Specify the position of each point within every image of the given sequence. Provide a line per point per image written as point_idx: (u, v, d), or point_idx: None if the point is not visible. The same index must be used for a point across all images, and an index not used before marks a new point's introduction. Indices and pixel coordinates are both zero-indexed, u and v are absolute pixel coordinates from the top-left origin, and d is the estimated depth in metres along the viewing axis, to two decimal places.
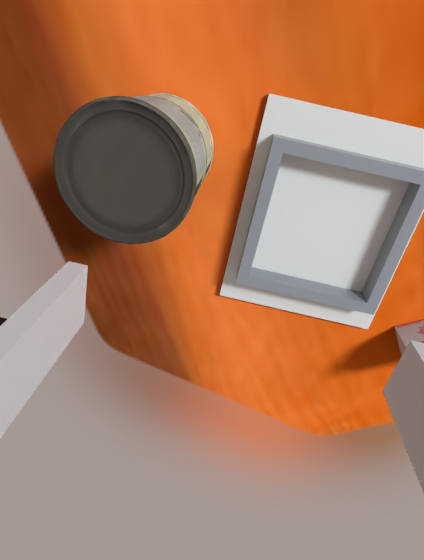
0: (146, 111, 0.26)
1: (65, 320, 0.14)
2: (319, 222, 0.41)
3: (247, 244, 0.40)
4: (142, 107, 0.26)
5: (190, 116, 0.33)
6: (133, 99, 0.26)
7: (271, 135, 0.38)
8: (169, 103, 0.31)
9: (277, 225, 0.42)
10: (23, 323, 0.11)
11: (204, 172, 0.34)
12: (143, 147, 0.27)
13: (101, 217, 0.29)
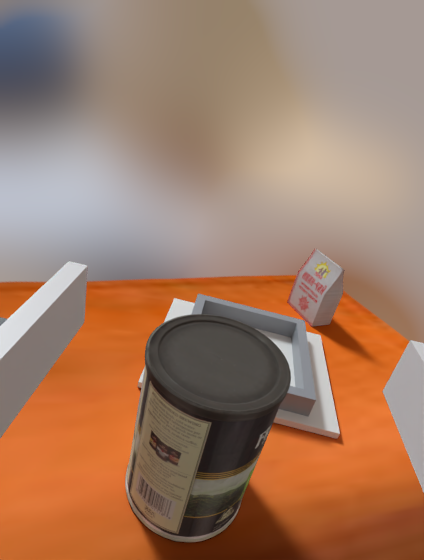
0: (160, 331, 0.28)
1: (65, 320, 0.14)
2: None
3: None
4: (156, 333, 0.28)
5: None
6: (149, 337, 0.28)
7: None
8: None
9: None
10: (23, 323, 0.11)
11: None
12: (191, 340, 0.28)
13: (267, 383, 0.26)
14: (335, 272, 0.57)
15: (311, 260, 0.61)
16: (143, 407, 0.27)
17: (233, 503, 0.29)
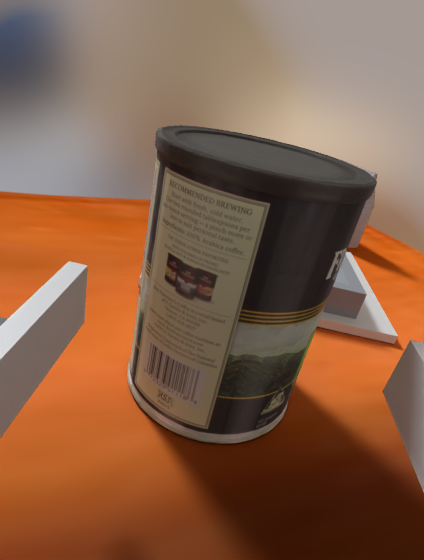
0: (175, 128, 0.19)
1: (65, 320, 0.14)
2: None
3: None
4: (170, 127, 0.19)
5: None
6: (161, 128, 0.19)
7: None
8: None
9: None
10: (23, 323, 0.11)
11: None
12: (221, 140, 0.19)
13: (343, 176, 0.17)
14: None
15: None
16: (154, 225, 0.18)
17: (286, 384, 0.20)
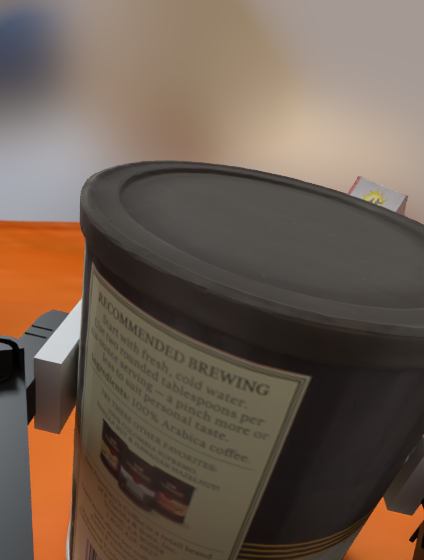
0: (129, 169, 0.11)
1: None
2: None
3: None
4: (120, 169, 0.11)
5: None
6: (99, 173, 0.10)
7: None
8: None
9: None
10: None
11: None
12: (209, 190, 0.11)
13: None
14: (394, 201, 0.41)
15: (355, 192, 0.45)
16: (82, 356, 0.10)
17: None
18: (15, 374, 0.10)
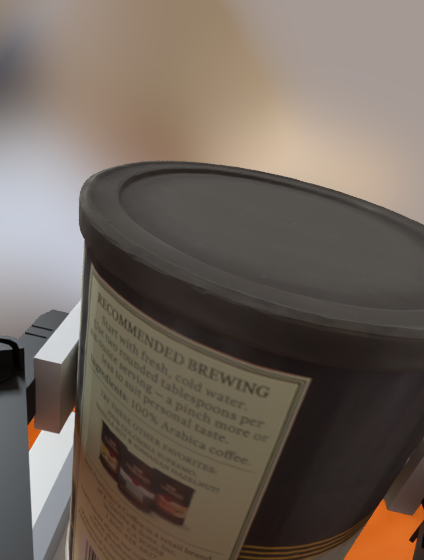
0: (129, 169, 0.11)
1: None
2: None
3: None
4: (119, 169, 0.11)
5: None
6: (99, 173, 0.10)
7: None
8: None
9: None
10: None
11: None
12: (209, 190, 0.11)
13: None
14: None
15: None
16: (81, 358, 0.10)
17: None
18: (15, 374, 0.10)
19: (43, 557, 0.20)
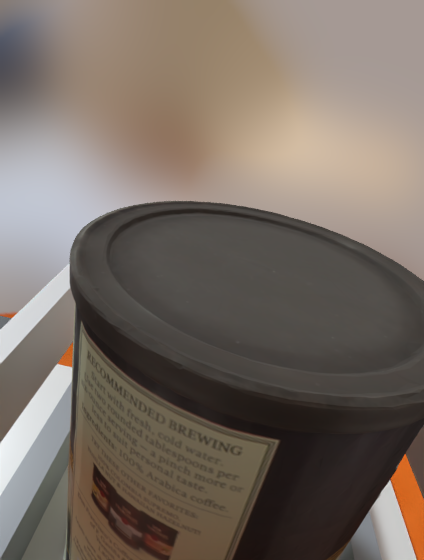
0: (118, 217, 0.12)
1: (68, 319, 0.14)
2: None
3: None
4: (109, 218, 0.11)
5: None
6: (89, 225, 0.11)
7: None
8: None
9: None
10: (27, 322, 0.12)
11: None
12: (194, 236, 0.12)
13: (408, 323, 0.10)
14: None
15: None
16: (74, 402, 0.10)
17: None
18: None
19: (10, 539, 0.14)
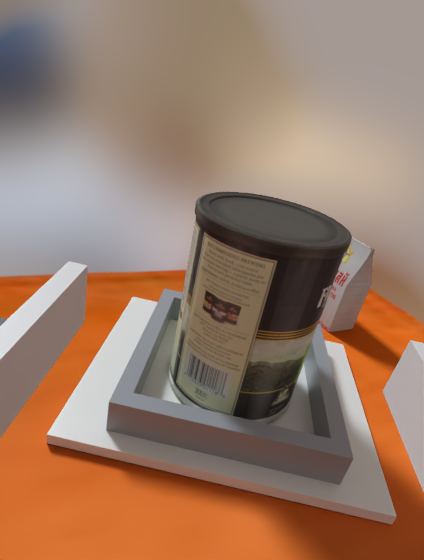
0: (207, 197, 0.27)
1: (65, 320, 0.14)
2: None
3: (278, 438, 0.24)
4: (204, 197, 0.27)
5: None
6: (198, 200, 0.26)
7: (108, 432, 0.25)
8: None
9: None
10: (23, 323, 0.11)
11: None
12: (240, 205, 0.27)
13: (328, 235, 0.24)
14: (361, 254, 0.40)
15: None
16: (195, 270, 0.25)
17: (289, 383, 0.28)
18: None
19: (149, 355, 0.29)
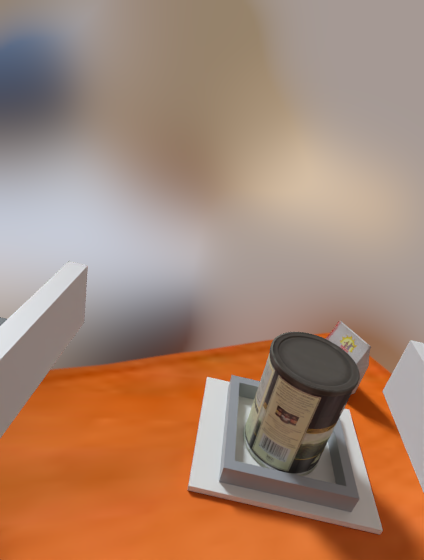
0: (275, 344, 0.46)
1: (65, 320, 0.14)
2: None
3: (318, 487, 0.43)
4: (274, 346, 0.45)
5: None
6: (271, 349, 0.45)
7: (220, 482, 0.44)
8: None
9: None
10: (23, 323, 0.11)
11: None
12: (294, 349, 0.46)
13: (346, 374, 0.44)
14: (361, 348, 0.60)
15: (336, 332, 0.64)
16: (270, 391, 0.44)
17: (321, 451, 0.47)
18: None
19: (236, 432, 0.48)
